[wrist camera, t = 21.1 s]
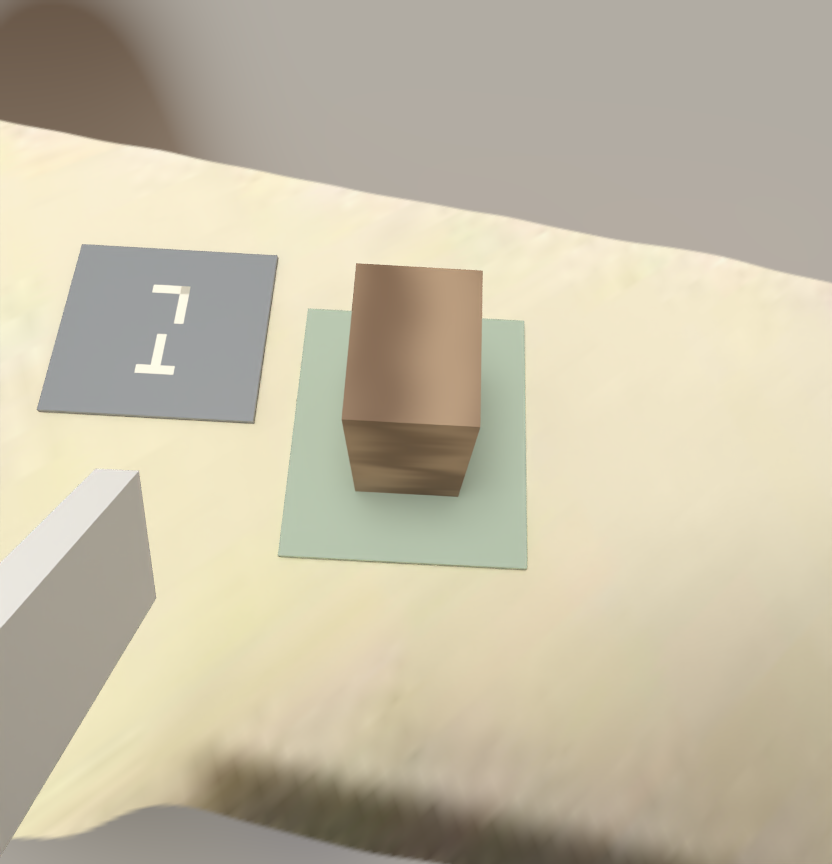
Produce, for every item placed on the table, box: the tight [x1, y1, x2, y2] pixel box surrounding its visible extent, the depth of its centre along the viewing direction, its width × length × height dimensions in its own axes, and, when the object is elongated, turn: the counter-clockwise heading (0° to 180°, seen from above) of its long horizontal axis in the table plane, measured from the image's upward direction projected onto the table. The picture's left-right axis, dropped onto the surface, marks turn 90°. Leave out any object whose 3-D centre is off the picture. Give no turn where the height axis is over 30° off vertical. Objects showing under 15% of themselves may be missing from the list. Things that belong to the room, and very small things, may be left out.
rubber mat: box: [278, 309, 527, 570], centre depth 41 cm, size 14×16×1 cm
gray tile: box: [37, 244, 278, 423], centre depth 43 cm, size 13×12×1 cm
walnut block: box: [342, 263, 483, 497], centre depth 36 cm, size 6×8×11 cm
